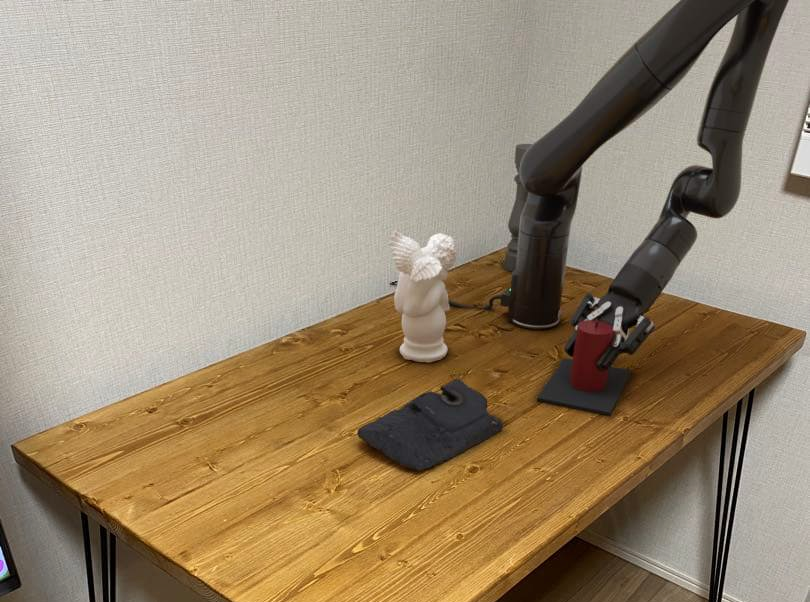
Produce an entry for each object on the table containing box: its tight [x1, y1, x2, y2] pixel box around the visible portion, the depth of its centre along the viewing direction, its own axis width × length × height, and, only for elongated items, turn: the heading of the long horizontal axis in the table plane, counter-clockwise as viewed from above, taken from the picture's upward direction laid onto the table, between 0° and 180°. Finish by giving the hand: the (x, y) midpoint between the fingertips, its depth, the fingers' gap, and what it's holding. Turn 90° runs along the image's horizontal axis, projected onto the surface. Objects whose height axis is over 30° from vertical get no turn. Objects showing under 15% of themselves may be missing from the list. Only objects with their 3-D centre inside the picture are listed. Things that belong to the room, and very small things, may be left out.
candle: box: [570, 319, 614, 392], centre depth 145 cm, size 6×6×11 cm
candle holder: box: [504, 143, 533, 273], centre depth 188 cm, size 6×6×25 cm
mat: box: [536, 357, 633, 416], centre depth 148 cm, size 12×17×1 cm
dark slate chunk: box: [357, 378, 504, 472], centre depth 133 cm, size 15×22×5 cm
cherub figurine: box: [388, 230, 458, 363], centre depth 150 cm, size 12×12×22 cm
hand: (583, 361), depth 144 cm, fingers open, 6 cm apart
